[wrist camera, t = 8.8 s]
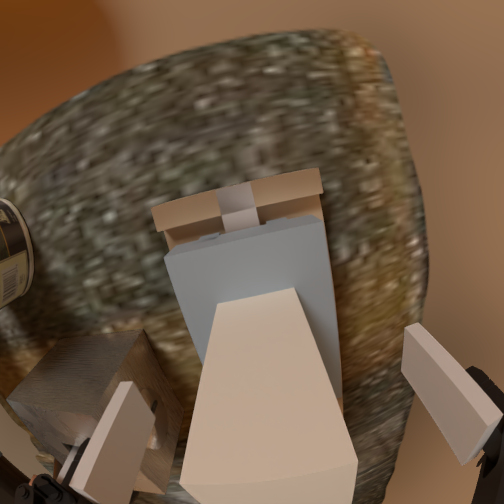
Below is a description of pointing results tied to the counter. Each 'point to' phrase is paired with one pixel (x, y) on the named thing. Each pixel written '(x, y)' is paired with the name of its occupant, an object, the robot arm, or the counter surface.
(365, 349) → the counter surface
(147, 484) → the box with ball knob
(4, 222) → the coffee can
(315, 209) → the rail track
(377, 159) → the counter surface
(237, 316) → the carriage
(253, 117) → the counter surface
